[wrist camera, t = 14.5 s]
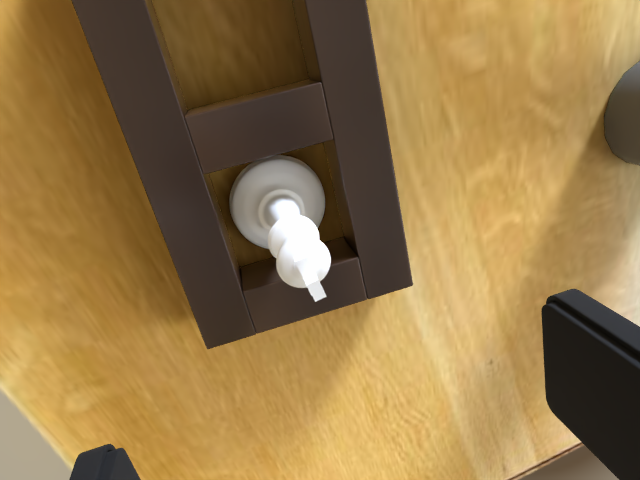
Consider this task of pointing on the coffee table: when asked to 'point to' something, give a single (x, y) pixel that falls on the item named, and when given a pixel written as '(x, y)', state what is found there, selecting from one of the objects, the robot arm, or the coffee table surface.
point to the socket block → (253, 144)
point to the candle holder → (625, 117)
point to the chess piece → (284, 218)
